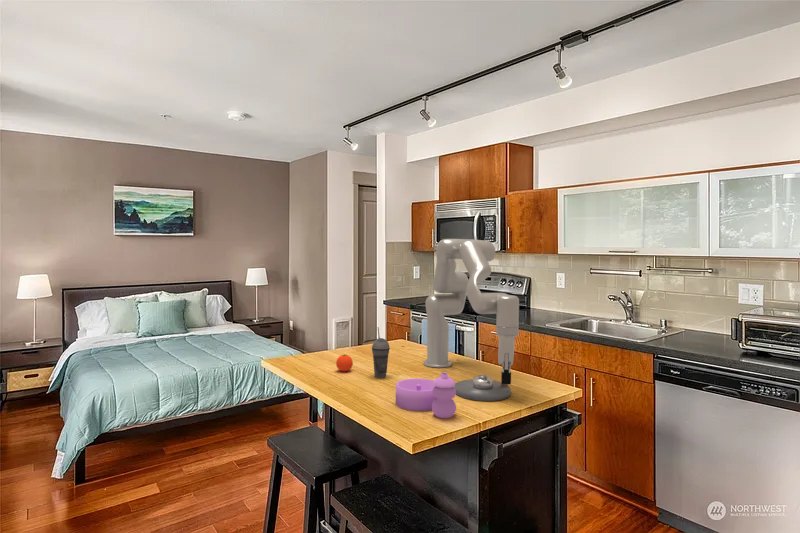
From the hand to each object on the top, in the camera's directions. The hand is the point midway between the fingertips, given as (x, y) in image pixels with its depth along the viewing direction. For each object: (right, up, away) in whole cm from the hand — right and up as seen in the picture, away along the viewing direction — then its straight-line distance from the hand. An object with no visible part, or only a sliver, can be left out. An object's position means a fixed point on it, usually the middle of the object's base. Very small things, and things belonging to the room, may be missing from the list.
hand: (506, 383), depth 165 cm
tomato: (-60, -4, +35) cm, 70 cm away
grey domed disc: (-7, -5, +6) cm, 11 cm away
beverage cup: (-45, -4, +26) cm, 52 cm away
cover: (-7, -3, +5) cm, 9 cm away
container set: (-28, -6, -11) cm, 31 cm away
